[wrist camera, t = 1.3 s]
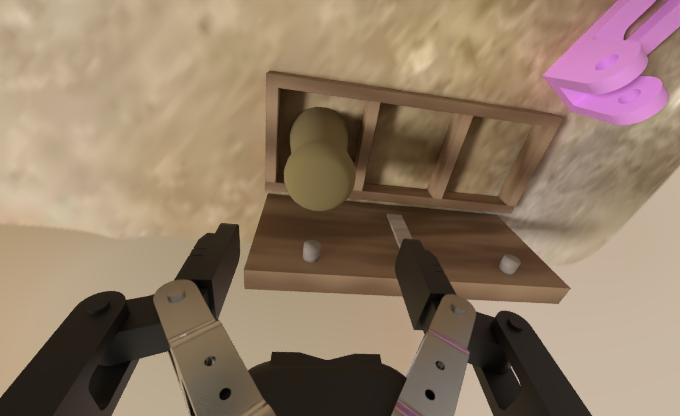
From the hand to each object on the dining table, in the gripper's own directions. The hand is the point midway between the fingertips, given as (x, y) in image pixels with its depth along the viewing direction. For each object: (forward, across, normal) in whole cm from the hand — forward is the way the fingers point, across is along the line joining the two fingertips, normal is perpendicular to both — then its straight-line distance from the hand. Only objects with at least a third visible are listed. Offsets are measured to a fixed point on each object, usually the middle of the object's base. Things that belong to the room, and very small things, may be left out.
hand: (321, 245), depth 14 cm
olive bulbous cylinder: (+17, 0, 0) cm, 17 cm away
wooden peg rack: (+17, -9, +2) cm, 19 cm away
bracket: (+18, -26, -13) cm, 34 cm away
